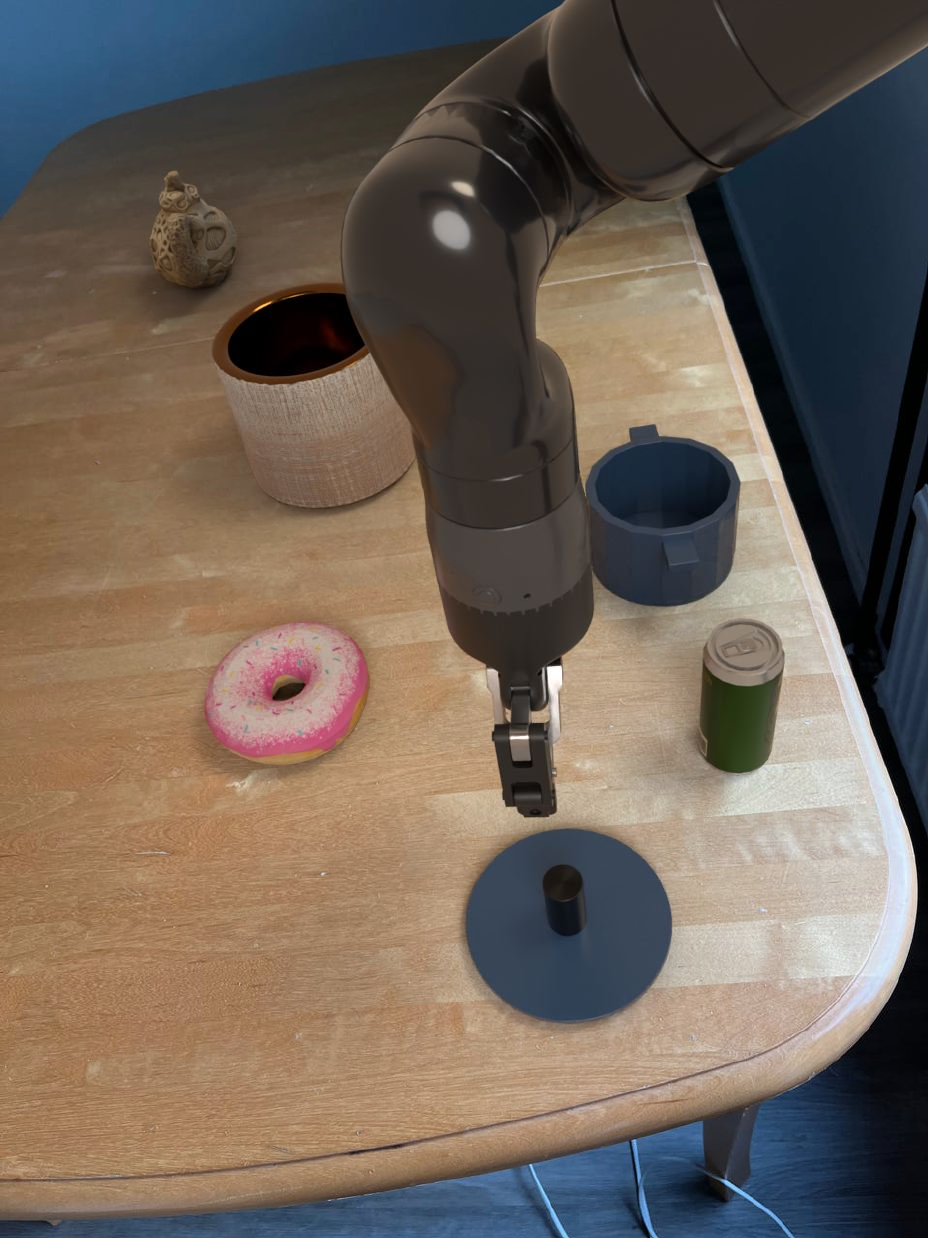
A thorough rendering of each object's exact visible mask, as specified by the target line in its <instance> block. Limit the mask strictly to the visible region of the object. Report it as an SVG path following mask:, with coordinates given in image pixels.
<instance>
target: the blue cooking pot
mask: <svg viewBox="0 0 928 1238" xmlns="http://www.w3.org/2000/svg"><path fill="white" fill-rule="evenodd" d="M628 437H629V441H628V442H626V443H623V444H621V445H619V446H617V447H614V448H611V449H609V450H608V451H607V452H606V453H605V454H603V456H601V458H600V459H598V460H597V461H596V462H595V463H594V464H593V465H592V466H591V468H590V471H589V473H588V476H587V479H586V482H585V483H584V492H585V496H586V501H587V509H588V518H589V533H590V548H591V564H592V572H593V574H594V575H595V578H596V579H597V580H598V582H599V583H600V584H601V585H602V586H604V588H605V589H606V590H607V591H609V592H610V593H612V594H613V595H614V596H616V597H618V598H620V599H622V600H625V601H627V602H630V603H633V604H637V605H640V606H641V605H642V606H647V607H657V608H658V607H659V608H660V607H663V608H664V607H665V608H666V607H675V606H681V605H686V604H689V603H693V602H696V601H698V600H701V599H703V598H705V597H707V596H708V595H710V594H712V593H713V592H715V591H716V590H717V589H718V588H719V587H720V586H722V585H723V583H724V582H725V581H726V579H727V578H728V576H729V574H730V573H731V571H732V567H733V565H734V558H735V553H736V546H737V533H738V523H739V522H738V521H739V509H740V498H741V483H742V481H741V480H740V477H739V474H738V472H737V471H738V470H737V469H736V466H735V464H734V462H733V461H732V460H730V459H729V458H728V457H727V456H726V455H725V454H723V453H722V452H721V450H718V448H716V447H715V446H711V445H710V444H706V443H704V442H701V441H698V440H695V439H693V438H690V437H679V436H678V437H677V436H669V435H660V434H659V430H658V428H657V425H656V423H653V424H646V425H639V426H632V427H629V428H628Z"/></svg>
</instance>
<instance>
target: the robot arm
mask: <svg viewBox="0 0 928 1238" xmlns="http://www.w3.org/2000/svg"><path fill="white" fill-rule="evenodd" d="M927 47H928V0H564V1H563V2H562V3H561V4H560V5H559V6H557V7H556V8H554V9H553V10H551V11H549V12H547V13H546V14H544V15H542V16H541V17H540V18H538V19H536V20H535V21H533V23H531V24H529V25H528V26H526V27H525V28H524V29H522V30H521V31H519V32H518V33H516V34H514V35H513V36H512V37H510V38H509V39H507V40H505V41H504V42H503V43H501V44H500V45H499V46H497V47H496V48H495V49H493V50H492V51H491V52H489V53H487V54H486V55H485V56H484V57H482V58H481V59H480V60H478V61H477V62H476V63H474V64H473V65H471V67H469V68H468V69H467V70H465V71H464V72H463V73H462V74H460V75H459V76H458V77H457V78H456V79H455V80H453V81H452V82H451V83H449V84H448V86H446V87H445V88H444V89H443V90H441V91H440V92H439V93H438V94H437V95H436V96H435V97H434V98H432V100H430V101H429V103H427V104H426V105H425V106H424V107H423V108H422V109H421V110H420V111H419V112H418V113H417V114H416V115H415V117H414V118H413V119H412V120H411V122H410V123H409V124H408V125H407V126H406V127H405V129H404V130H403V131H402V133H400V135H399V136H398V137H397V139H396V140H395V141H394V142H393V143H392V144H391V146H390V147H389V148H388V149H387V150H386V152H385V153H384V154H383V155H382V156H381V158H380V159H379V160H378V161H377V162H376V163H375V165H374V166H373V167H372V168H371V169H370V171H369V172H368V173H367V175H365V177H364V178H363V179H362V181H361V182H360V184H359V185H358V186H357V187H356V189H355V191H354V192H353V194H352V196H351V198H350V201H349V203H348V206H347V208H346V210H345V212H344V218H343V222H342V226H341V232H340V247H339V248H340V249H339V250H340V271H341V278H342V283H343V286H344V292H345V295H346V299H347V303H348V306H349V309H350V312H351V315H352V318H353V321H354V323H355V325H356V327H357V329H358V332H359V334H360V336H361V337H362V339H363V341H364V343H365V345H366V347H367V349H368V351H369V352H370V354H371V356H372V358H373V360H374V362H375V364H376V366H377V367H378V369H379V371H380V373H381V375H382V377H383V379H384V381H385V382H386V384H387V386H388V388H389V390H390V392H391V394H392V396H393V397H394V399H395V401H396V402H397V404H398V405H399V407H400V408H401V410H402V412H403V413H404V415H405V416H406V418H407V419H408V421H409V423H410V428H411V435H412V442H413V446H414V451H415V455H416V456H415V460H416V464H417V468H418V473H419V474H418V475H419V478H420V482H421V488H422V491H423V492H422V493H423V498H424V499H423V500H424V514H425V516H424V517H425V518H424V519H425V529H426V536H427V541H428V545H429V548H430V554H431V557H432V563H433V567H434V571H435V576H436V581H437V586H438V590H439V595H440V600H441V604H442V608H443V613H444V617H445V622H446V626H447V630H448V633H449V635H450V636H451V638H452V639H453V641H454V643H455V644H456V645H457V647H458V648H460V650H461V651H462V652H463V653H465V654H466V655H467V656H469V657H471V658H473V659H474V660H476V661H477V662H479V663H482V664H483V665H485V675H486V676H485V677H486V687H487V690H488V691H489V692H490V693H491V695H492V696H491V697H492V710H493V712H492V713H493V724H494V726H493V730H492V731H491V742H492V743H493V744H494V745H493V746H494V750H495V755H496V762H497V768H498V771H499V779H500V784H501V789H502V790H501V791H502V792H501V796H502V801H504V806H505V808H516V810H517V813H518V814H519V815H522V816H523V817H524V818H525V819H527V818H529V819H531V818H550V816H552V815H556V813H557V812H558V796H557V789H556V780H555V778H557V777H558V774H557V773H558V771H557V767H556V766H555V759H554V744H556V743H558V742H559V741H560V739H561V735H562V715H561V696H560V693H561V692H560V690H561V689H562V687H563V683H564V665H563V664H564V663H563V661H564V660H563V656H565V655H566V654H568V653H569V652H571V650H573V649H574V648H575V647H576V646H577V645H578V644H579V643H580V642H581V641H582V640H583V638H584V637H585V636H586V634H587V632H588V631H589V629H590V627H591V624H592V622H593V618H594V613H595V598H594V597H595V595H594V583H593V581H594V579H593V568H592V564H591V548H590V533H589V518H588V509H587V501H586V492H585V487H584V484H583V480H582V477H581V470H580V457H579V445H578V443H579V442H578V428H577V427H578V426H577V414H576V405H575V397H574V391H573V385H572V383H571V379H570V376H569V372H568V369H567V367H566V365H565V363H564V362H563V360H562V358H561V357H560V356H559V354H558V353H557V352H556V351H555V350H554V349H553V348H552V347H551V346H550V345H549V344H547V343H546V342H543V341H542V340H540V339H539V338H537V327H536V326H537V325H536V324H537V322H536V321H537V320H536V319H537V318H536V313H537V297H538V290H539V288H540V286H541V284H542V282H543V280H544V278H545V276H546V274H547V272H548V270H549V269H550V266H551V265H552V263H553V261H554V259H555V258H556V255H557V253H558V251H559V249H560V247H561V246H563V244H565V242H567V241H568V239H570V238H571V237H572V236H573V235H575V234H576V233H577V232H578V231H579V230H581V228H583V227H584V226H586V225H587V224H588V223H589V222H591V221H592V220H593V219H595V218H596V217H598V216H599V215H601V214H603V213H604V212H606V211H608V210H610V209H611V208H613V207H615V206H617V205H618V204H620V203H623V202H624V201H626V200H627V199H630V200H632V201H635V202H639V203H644V204H645V203H647V204H662V203H667V202H670V201H673V200H677V199H680V198H682V197H685V196H687V195H689V194H691V193H692V192H695V191H697V190H699V189H701V188H703V187H705V186H707V185H708V184H710V183H712V182H714V181H716V180H718V179H719V178H721V177H723V176H724V175H725V174H727V173H729V172H731V171H732V170H734V169H735V168H737V167H739V166H740V165H742V164H744V163H745V162H747V161H748V160H750V159H752V158H753V157H755V156H756V155H758V154H759V153H762V152H763V151H764V150H766V149H768V148H769V147H771V146H773V145H774V144H776V143H777V142H779V141H780V140H782V139H783V138H785V137H787V136H788V135H790V134H791V133H793V132H794V131H796V130H798V129H800V128H801V127H803V126H804V125H806V124H807V123H809V122H811V121H812V120H814V119H816V118H817V117H819V116H820V115H822V114H823V113H825V112H827V111H829V110H830V109H832V108H833V107H835V106H836V105H838V104H840V103H841V102H842V101H844V100H846V99H847V98H849V97H850V96H852V95H854V94H855V93H857V92H858V91H860V90H861V89H863V88H865V87H866V86H868V85H869V84H871V83H872V82H874V81H875V80H877V79H879V78H880V77H882V76H883V75H885V74H887V73H888V72H889V71H891V70H892V69H894V68H896V67H897V66H899V65H900V64H902V63H904V62H905V61H906V60H909V58H911V57H913V56H915V55H916V54H918V53H919V52H921V51H922V50H924V49H925V48H927ZM547 706H548V708H549V709H548V712H549V719H548V720H547V721H545V722H533V719H532V713H533V712H534V713H535V712H536V713H537V712H542V711H543V710H545V709H546V707H547ZM506 709H507V710H508V711H510V719H509V720H510V721H509V720H508V718H507V710H506Z"/></svg>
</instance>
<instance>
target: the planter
mask: <svg viewBox="0 0 928 1238" xmlns="http://www.w3.org/2000/svg"><path fill="white" fill-rule="evenodd" d="M211 356H212V360H213V363H214V366H215V368H216V369H215V370H216V372H217V374H218V378H219V380H220V383H221V386H222V388H223V391H224V394H225V397H226V399H227V403H228V405H229V408H230V411H231V414H232V417H233V420H234V423H235V426H236V429H237V432H238V436H239V438H240V441H241V444H242V446H243V449H244V452H245V455H246V458H247V462H248V464H249V466H250V469H251V472H252V475H253V476H254V479H255V481H256V483H257V485H258V486H259V487H260V488H261V490H262V491H263V492H264V493H265V494H267V495H268V496H269V497H270V498H272V499H274V500H276V501H277V502H279V503H282V504H284V505H289V506H292V507H296V508H301V509H311V510H312V509H313V510H314V509H319V510H321V509H322V510H323V509H334V508H339V507H345V506H349V505H354V504H357V503H360V502H362V501H365V500H367V499H370V498H372V497H374V496H376V495H378V494H380V493H382V492H383V491H385V490H386V489H388V488H389V487H390V486H392V485H394V484H395V483H396V482H397V481H399V479H400V478H401V477H402V476H403V475H404V474H405V473H406V472H407V471H408V470H409V468H411V465H412V464H413V462H414V460H415V459H416V455H415V451H414V446H413V442H412V435H411V428H410V423H409V421H408V419H407V418H406V416H405V415H404V413H403V412H402V410H401V408H400V407H399V405H398V404H397V402H396V401H395V399H394V397H393V396H392V394H391V392H390V390H389V388H388V386H387V384H386V382H385V381H384V379H383V377H382V375H381V373H380V371H379V369H378V367H377V366H376V364H375V362H374V360H373V358H372V356H371V354H370V352H369V351H368V349H367V347H366V345H365V343H364V341H363V339H362V337H361V336H360V334H359V332H358V329H357V327H356V325H355V323H354V321H353V318H352V315H351V312H350V309H349V306H348V303H347V299H346V295H345V292H344V286H343V282H340V281H339V282H337V281H323V282H312V283H304V284H299V285H294V286H290V287H286V288H283V289H279V290H276V291H273V292H271V293H268V294H265V295H263V296H261V297H258V298H257V299H254V300H253V301H251V302H249V303H247V304H246V305H243V307H241V308H239V309H237V311H235V312H234V313H233V314H232V315H231V316H229V317H228V318H227V319H226V320H225V321H224V322H223V323H222V325H220V327H219V328H218V330H217V332H216V333H215V334H214V337H213V340H212V343H211Z"/></svg>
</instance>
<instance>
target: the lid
mask: <svg viewBox="0 0 928 1238" xmlns="http://www.w3.org/2000/svg"><path fill="white" fill-rule="evenodd" d="M465 935H466V941H467V946H468V950H469V953H470V957H471V960H472V962H473V964H474V966H475V968H476V971H477V972H478V974H479V976H480V977H481V979H482V981H483V982H484V984H486V985H487V987H488V988H489V989H490V990H491V992H492V993H493V994H494V995H495V996H497V997H498V998H499V999H500V1000H501V1001H502V1002H503V1003H505V1004H506V1005H507V1006H509V1007H511V1008H512V1009H513V1010H516V1011H517V1012H519V1013H520V1014H521V1013H522V1014H523V1015H525V1016H528V1017H530V1018H533V1019H536V1020H539V1021H541V1022H542V1021H543V1022H548V1023H552V1024H559V1025H560V1024H561V1025H579V1024H586V1023H587V1024H588V1023H593V1022H598V1021H600V1020H604V1019H607V1018H610V1017H613V1016H614V1015H616V1014H618V1013H620V1012H623V1011H624V1010H626V1009H627V1008H629V1007H630V1006H632V1005H633V1004H635V1003H636V1002H637V1001H638V1000H639V999H640V998H642V997H643V996H644V995H645V994H646V993H647V992H648V991H649V989H651V987H652V986H653V985H654V984H655V982H656V980H657V979H658V977H659V976H660V974H661V973H662V971H663V970H664V969H663V968H664V966H665V964H666V962H667V960H668V956H669V952H670V949H671V944H672V937H673V915H672V909H671V904H670V901H669V898H668V894H667V891H666V890H665V887H664V885H663V883H662V881H661V879H660V878H659V876H658V875H657V873H656V871H655V870H654V869H653V868H652V866H651V865H650V864H649V863H648V861H646V860H645V859H644V858H643V857H642V856H641V855H640V854H639V853H638V852H637V851H635V850H634V849H633V848H632V847H630V846H628V845H627V844H625V843H624V842H621V841H620V840H618V839H617V838H614V837H612V836H609V835H607V834H604V833H600V832H598V831H597V832H596V831H594V830H588V829H581V828H558V829H557V828H556V829H550V830H545V831H540V832H538V833H534V834H530V835H528V836H526V837H523V838H522V839H519V840H518V841H516V842H513V844H511V845H509V846H507V847H506V848H504V850H502V851H501V852H500V853H498V854H497V855H496V856H495V857H494V858H493V859H492V860H491V861H490V862H489V863H488V865H487V866H486V867H485V868H484V869H483V871H482V873H481V874H480V876H479V877H478V879H477V881H476V882H475V884H474V887H473V889H472V891H471V894H470V896H469V900H468V903H467V909H466V916H465Z"/></svg>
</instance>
